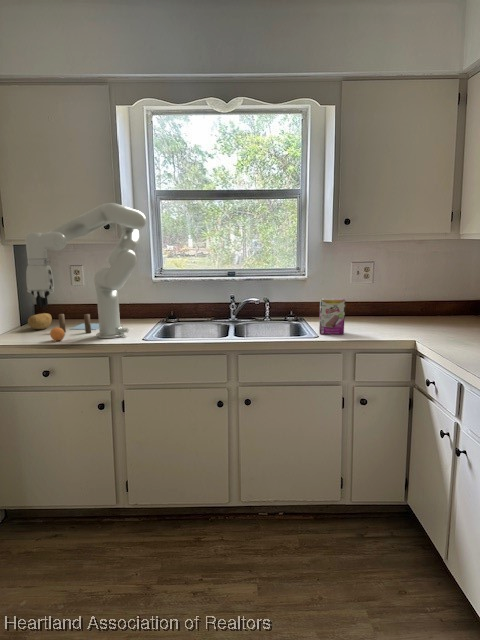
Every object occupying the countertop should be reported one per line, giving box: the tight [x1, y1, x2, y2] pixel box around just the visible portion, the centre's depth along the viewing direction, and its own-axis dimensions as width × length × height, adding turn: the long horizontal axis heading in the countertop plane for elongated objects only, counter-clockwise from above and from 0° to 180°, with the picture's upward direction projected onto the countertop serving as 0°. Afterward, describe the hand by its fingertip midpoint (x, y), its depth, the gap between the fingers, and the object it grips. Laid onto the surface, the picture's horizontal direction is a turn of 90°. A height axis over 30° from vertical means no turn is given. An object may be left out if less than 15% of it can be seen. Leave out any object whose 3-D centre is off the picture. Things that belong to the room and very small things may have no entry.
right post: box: [83, 313, 92, 334], centre depth 210 cm, size 3×3×9 cm
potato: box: [27, 312, 53, 330], centre depth 221 cm, size 10×14×8 cm
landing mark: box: [69, 322, 99, 331], centre depth 226 cm, size 14×14×1 cm
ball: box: [49, 326, 66, 341], centre depth 196 cm, size 6×6×6 cm
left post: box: [58, 313, 67, 333], centre depth 212 cm, size 3×3×9 cm
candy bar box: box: [318, 297, 346, 336], centre depth 202 cm, size 11×5×16 cm, turn 85°
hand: (42, 306), depth 184 cm, fingers closed
